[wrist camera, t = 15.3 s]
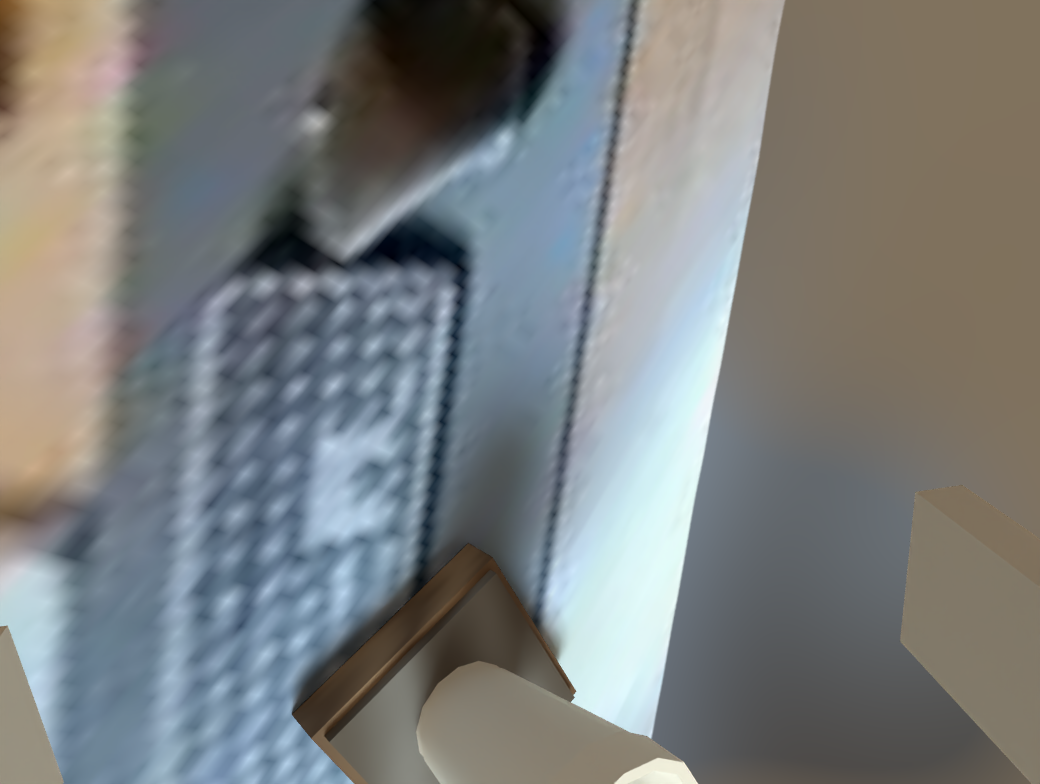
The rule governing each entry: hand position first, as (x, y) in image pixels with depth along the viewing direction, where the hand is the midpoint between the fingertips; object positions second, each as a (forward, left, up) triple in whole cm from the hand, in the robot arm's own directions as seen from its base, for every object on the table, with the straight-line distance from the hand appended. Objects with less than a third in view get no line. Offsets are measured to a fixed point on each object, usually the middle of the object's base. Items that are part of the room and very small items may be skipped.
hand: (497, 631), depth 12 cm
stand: (-3, +28, -28) cm, 40 cm away
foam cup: (-3, +28, -25) cm, 38 cm away
